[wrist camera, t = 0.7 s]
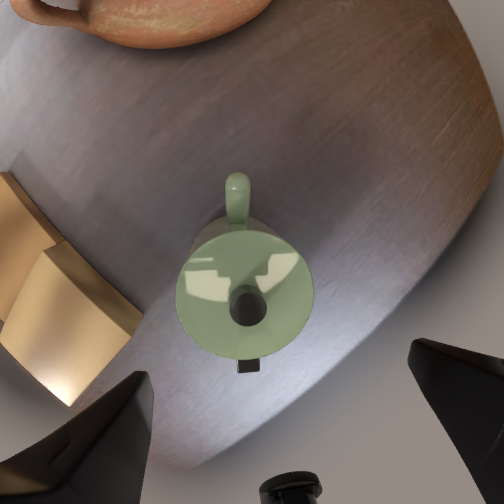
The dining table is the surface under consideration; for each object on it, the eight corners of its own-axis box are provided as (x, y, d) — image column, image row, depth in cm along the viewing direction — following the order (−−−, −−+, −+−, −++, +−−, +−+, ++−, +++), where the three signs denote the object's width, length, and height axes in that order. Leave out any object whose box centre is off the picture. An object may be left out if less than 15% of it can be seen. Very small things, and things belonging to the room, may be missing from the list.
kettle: (283, 319, 21) (315, 385, 14) (195, 325, 21) (187, 397, 13) (281, 173, 19) (322, 167, 11) (183, 178, 18) (158, 173, 11)
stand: (144, 314, 20) (132, 337, 17) (83, 383, 21) (69, 407, 17) (9, 171, 16) (-18, 171, 13) (-32, 260, 17) (-55, 270, 14)
